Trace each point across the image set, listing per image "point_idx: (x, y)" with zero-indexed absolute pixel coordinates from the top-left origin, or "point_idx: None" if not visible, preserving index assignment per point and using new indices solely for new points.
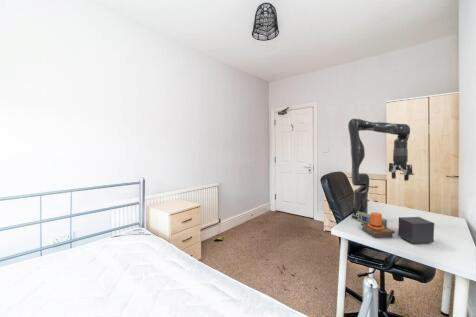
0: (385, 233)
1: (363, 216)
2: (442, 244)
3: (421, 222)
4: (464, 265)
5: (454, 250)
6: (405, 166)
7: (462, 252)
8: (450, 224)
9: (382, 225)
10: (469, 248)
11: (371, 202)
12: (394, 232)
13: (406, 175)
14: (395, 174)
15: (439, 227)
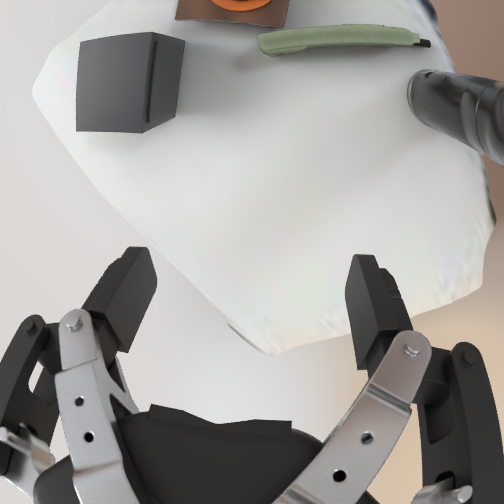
0: None
1: (372, 25)
2: (118, 138)
3: (84, 86)
4: (40, 94)
5: (88, 136)
6: (46, 472)
7: (79, 145)
8: (245, 302)
9: (236, 8)
10: (97, 184)
11: (480, 283)
12: (176, 19)
13: (85, 309)
14: (355, 344)
15: (232, 257)
